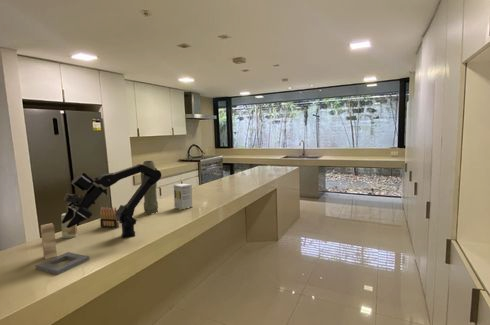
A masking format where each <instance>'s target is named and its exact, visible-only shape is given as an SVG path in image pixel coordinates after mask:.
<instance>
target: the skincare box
mask: <svg viewBox="0 0 490 325" xmlns="http://www.w3.org/2000/svg"><path fill="white" fill-rule="evenodd" d="M66 213H67V212H64V213H62V214H61V215H60V220H61V221H60V223H61V222H62V220H63V218H64V216H65V215H66ZM70 221H71V219H70V220H69V221H67V222H66V223H64V224H63V223H61V238H62V239H70V238H77V236H78V224H76V225H74V226H72V227H70V228H67V225H68V223H69V222H70Z"/></svg>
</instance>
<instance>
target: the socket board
mask: <svg viewBox="0 0 490 325" xmlns="http://www.w3.org/2000/svg"><path fill="white" fill-rule="evenodd" d="M65 260H67V261H68V262H66V263H63V264H62V265H57V264H59V263H61V262H63V261H65ZM87 261H90V256H89V255H85V254H84V255H83V254H79V253H74V252H69V251H67V252H65V253H63V254H59V255H57V257H54V258H50V259H46V261H42V262H41V263H38V264H35V269H36V270H38V271H42V272H45V273H50V274H54V275H57V276H58V275H61V274H63V273H64V272H67V271H69V270H71V269H73V268H75V267H77V266H79V265H81V264H84V263H86V262H87Z"/></svg>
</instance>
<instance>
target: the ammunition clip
mask: <svg viewBox="0 0 490 325" xmlns="http://www.w3.org/2000/svg"><path fill="white" fill-rule="evenodd" d="M116 211H117V207H115V206H114V207H113V206H112V207H110V206H106V207H105V206H101V207H100V219H99V221H100V228H102V229H104V228H105V229H119V227H120V226H119V224H120V222H119V221H118V220H117V219H116V218H115V214H116Z"/></svg>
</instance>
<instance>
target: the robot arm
mask: <svg viewBox="0 0 490 325" xmlns="http://www.w3.org/2000/svg"><path fill="white" fill-rule="evenodd" d="M139 173H140V174H141V173H142V174H144V175H145V177H144V181H143V183H142V184H141V185H139V187H138V188H137V189H136V191H135V192H134V194H133V195H132V197H130V199H129V200H128V202H127V203H126V204H124V205H122V204H120V206H119V207H118V209H116V214H115V218H116V219H117V220H118V223H119V224H121V237H120V238H121V239H125V238H131V237H136V230H135V225H136V224H137V219H135V218H133V216H134V214H135V211H136V210H135V209H136V207H137V206H138V205H139V203H140V202H141V200H142V199H143V198H144V195H145V194H146V192H147V191H148V190H149V188H150V187H151V186H152V185H153V184H155V183H156V182H157V183H158V181H159V180H161V178H162V172H161V171H160V170H159V169H157V170H154V169H151V168H149V167H146V166H145V165H143V163H138V164H136V165H133V166H131V167H130V166H129V167H128V168H125V169H122V170H119V171H115V172H108V173H104V174H103V173H102V174H100V175H98V176H96V177H93V178H91V177H90V176H88V174H86V173H85V172H84V171H82V172H81V173H80V174H79V175H77V176H75V177H74V178H73V179H72V180H71V185H73V186H75V188H77V189H79V190H80V191H82V192H83V191H85V193H84V194H83V193H82V194H80V195H78V194H75V193H73V194H71V193H65V196H64V198H63V201H65V202H67V203H66V212H65V213H66V215H65V216H64V218H63V220H62V222H61V221H60V223H63V224H64V223H66V222H67V221H69V220H70V219H71V221H70V222H69V223H68V225H67V228H70V227H72V226H74V225H76V224H77V225H78V224H80V223H82V222H83V221H84V222H85V220H89V219H90V218H91V217H92V216H93V213H92V211H90V207H91V206H93V205H95V204H96V201H97V200H98V198H99V197H100V196H101V195H102V194H104V195H108V189H107V188H109V187H112V186H113V185H114V184H116V183H118V182H119V181H120V180H123V179H125V178H128V177H131V176H134V175H137V174H139ZM103 187H104V188H103Z"/></svg>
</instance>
